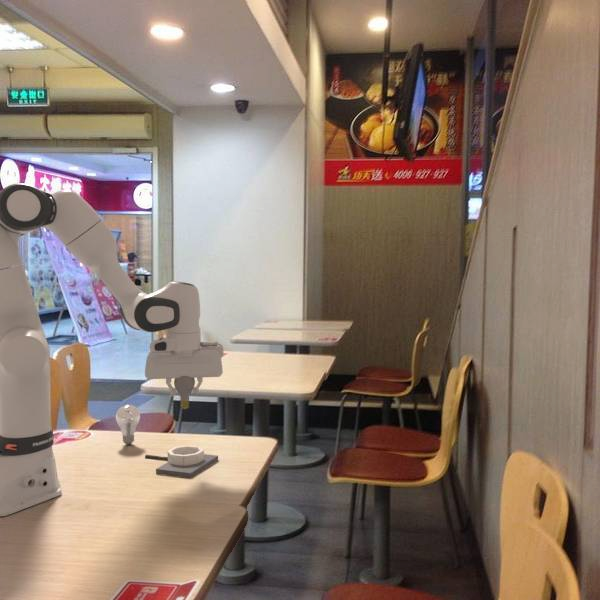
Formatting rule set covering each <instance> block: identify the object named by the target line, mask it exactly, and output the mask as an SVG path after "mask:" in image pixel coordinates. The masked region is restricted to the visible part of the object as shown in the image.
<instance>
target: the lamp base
mask: <svg viewBox="0 0 600 600" xmlns="http://www.w3.org/2000/svg"><path fill="white" fill-rule="evenodd" d="M144 457H145V458H146V459H155V460H164V461H168V462H165V463H164V464H162V465H160V466H158V467H157V468H155V474H156V475H165V476H173V477H180V478H181V477H182V478H189V479H191V478H192V477H194V476H196V475H197V474H199V473H200V472H202V471H203V470H205V469H206V468H208V467H209V466H211V465H214V463H216V462H218V461H219V455H215V454H205V450H204V448H202V447H201V446H199V445H181V446H175V447H172V448H171V449H168V450H167V456H161V455H151V454H145V455H144Z"/></svg>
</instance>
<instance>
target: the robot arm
mask: <svg viewBox="0 0 600 600" xmlns="http://www.w3.org/2000/svg"><path fill="white" fill-rule="evenodd" d="M39 228H43V229H47V230H48V231H50V232H51V233H52V234H53V235H54V236H56V237H57V239H58V240H59V241H60V242H61V244H62V245H63V246H64V247H65V248H66V249H67V251H68V252H69V253H70V254H71V255H72V256H73V257H74V258H75V259H76V260H77V261H79V262H80V263H81V264H82V265H83V266H85V267H86V268H87V269H88V270H89V271H91V272H92V273H93V274H94V275H95V276H96V277H97V278H98V279H99V280H100V281H101V282H102V284H103V285H104V286H105V287H106V290H108V291H109V292H110V294H111V295H112V296H113V298H114V299H115V300H116V301H117V304H118V305H119V309H120V312H121V315H122V319H123V321H124V323H125V324H126V325H127V326H128V327H129V328H131V329H133V330H136V331H142V332H145V333H150V334H151V333H152V334H153V333H157V332H160V331H164V330H166V336H165V337H160V338H158V339H155V340H152V341H151V342H150V343H149V349H150V350H149V352H148V354H147V356H146V361H145V369H144V377H146V379H147V380H163V379H164V380H165V385H167V386H168V388H169V390H170V391H169V392H170V395H169V396H176V395H177V390H176V388H175V387H173V385H172V379H175V378H179V377H181V376H188V377H191V378H194V379H195V378H196V381H197V383H196V385H195V386H194V388H193V390H192V395H199V390H200V387H201V385H202V383H203V382H204V381H203V380H204V379H203V378H219V377H221V376H222V375H223V374H224V373H223V372H224V371H223V362H222V358H223V356H224V346H223V345H222V344H221V343H218V341H212V342H209V341H205V342H204V341H201V339H202V337H201V335H202V334H201V326H200V317H201V301H200V293H199V289H198V288H197V286H195V285H194V284H192V283H188V282H184V281H175V280H174V281H173V280H172V281H169V282H168V283H167V284H166V285H164V286H163V287H161V288H160V289H157V290H156V291H153V292H150V293H149V294H148V293H146V292H144V291H142V290H141V289H140V288H138V286H137V285H136V284H135V283H134V281H133V280H132V278H130V276H129V274H127V272H126V271H125V270H124V269H123V267H122V266H121V263H120V262H119V260H118V254H117V253H118V252H117V251H118V250H117V249H118V243H117V240H116V237H115V235H114V234H113V232H112V231H111V228H110V227H109V226H108V225H107V224H106V222H105V221H104V219H102V217H101V216H100V215H99V213H98V212H97V211H96V210H95V209H94V208H93V207H92V206H91V205H90V204H89V203H88V202H87V201H86V200H85V199H84V198H83V197H82V196H81V195H79V194H78V193H77V192H75V191H74V190H71V189H61V190H58V191H56V192H53V193H50V192H47V191H44V190H42V189H40V188H38V187H36V186H33V185H31V184H29V183H19V182H17V183H13V184H9V185H8V186H6V187H4V188H3V189H1V190H0V517H5V516H9V515H11V514H14V513H17V512H20V511H22V510H25V509H28V508H29V507H33V506H36V505H39V504H41V503H43V502H47V501H49V500H51V499H53V498H56V497H59V496H61V495H62V494H63V493H62V488H61V484H60V481H59V480H60V479H59V478H58V469H57V463H56V457H55V455H54V450H53V445H54V438H55V436H54V429H53V428H52V417H51V415H52V412H51V411H52V410H51V350H50V345H49V343H48V340H47V337H46V335H45V334H46V333H45V332H44V328H43V325H42V321H41V318H40V315H39V313H38V308H37V305H36V302H35V299H34V296H33V292H32V289H31V285H30V282H29V279H28V275H27V274H26V269H25V267H24V263H23V261H22V257H21V255H20V251H19V239H20V237H22V236H24V235H26V234H28V233H32V232H34V231H36V230H37V229H39Z"/></svg>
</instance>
